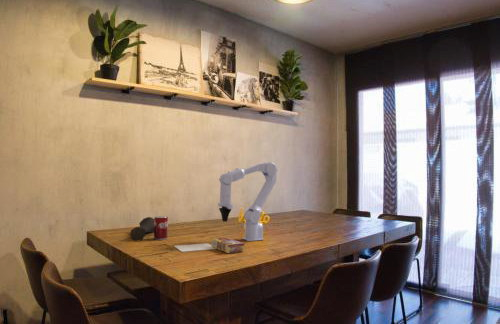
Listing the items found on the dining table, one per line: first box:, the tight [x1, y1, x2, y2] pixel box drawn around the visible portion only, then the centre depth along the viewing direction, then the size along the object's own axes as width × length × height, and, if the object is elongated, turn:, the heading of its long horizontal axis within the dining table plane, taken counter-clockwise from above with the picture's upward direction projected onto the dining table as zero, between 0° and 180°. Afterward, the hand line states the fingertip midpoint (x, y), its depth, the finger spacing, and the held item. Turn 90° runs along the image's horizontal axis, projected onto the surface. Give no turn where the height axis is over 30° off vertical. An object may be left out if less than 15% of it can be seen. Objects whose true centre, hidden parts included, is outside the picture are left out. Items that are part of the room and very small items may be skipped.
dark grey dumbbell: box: [129, 216, 154, 241], centre depth 191 cm, size 11×10×28 cm
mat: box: [174, 242, 217, 253], centre depth 163 cm, size 17×13×1 cm
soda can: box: [153, 215, 169, 241], centre depth 183 cm, size 7×7×12 cm
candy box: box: [211, 237, 245, 254], centre depth 160 cm, size 9×4×15 cm
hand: (224, 221), depth 181 cm, fingers closed
